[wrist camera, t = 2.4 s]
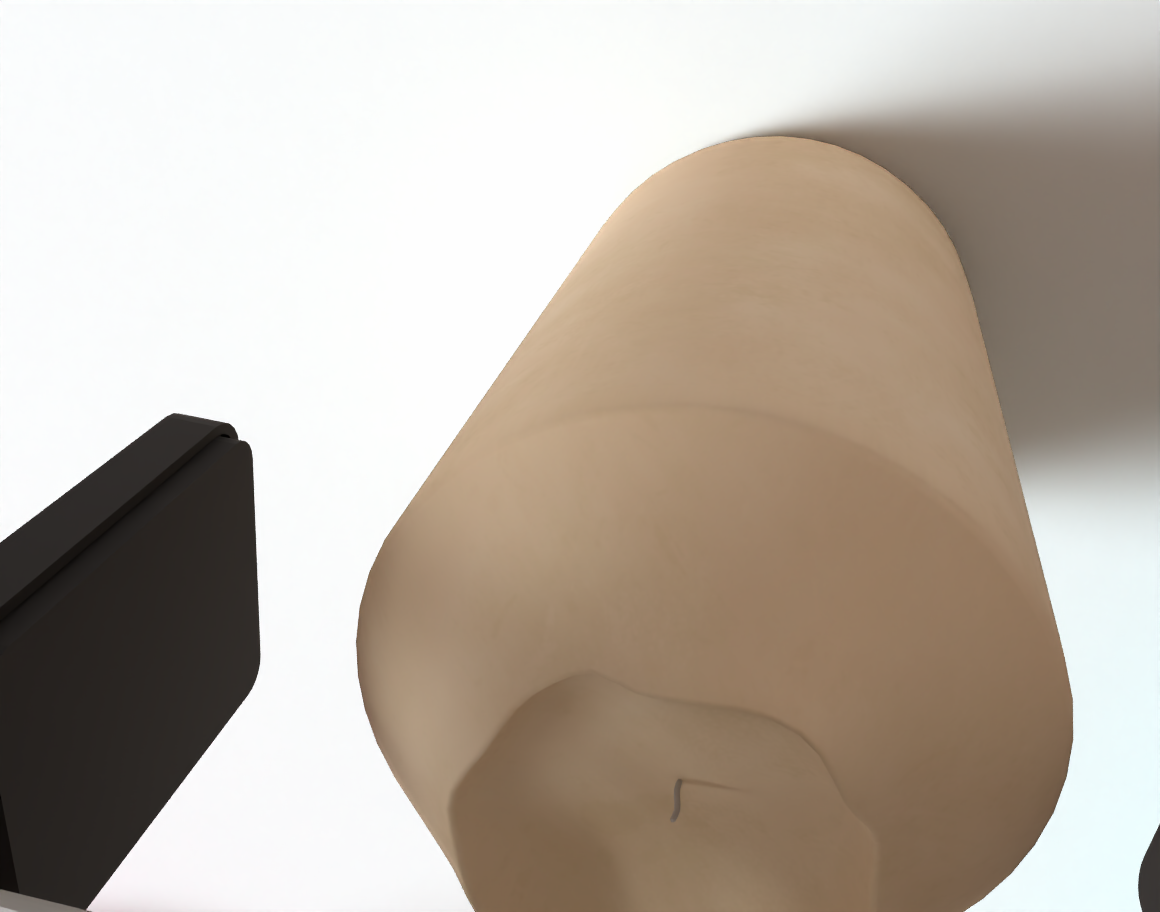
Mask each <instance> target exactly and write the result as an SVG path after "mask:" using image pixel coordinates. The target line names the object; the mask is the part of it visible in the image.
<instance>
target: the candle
mask: <svg viewBox="0 0 1160 912" xmlns="http://www.w3.org/2000/svg"><path fill="white" fill-rule="evenodd" d="M356 647H357V665H358V678H359V683H360V688H361V692H362V697H363V702H364V707H365V711H366V714H367V717H368V719H369V722H370V725H371V728H372V730H373V733H374V736H375V739H376V742H377V744H378V746H379V748H380V750H381V752H382V754H383V756H384V758H385V759H386V761H387V763H388V765H389V767H390V769H391V771H392V773H393V775H394V777H395V778H396V780H397V782H398V783H399V785H400V786H401V788H402V789H403V791H404V793H405V794H406V796H407V797H408V799H409V800H410V802H411V803H412V805H413V806H414V808H415V809H416V811H417V812H418V814H419V816H420V817H421V819H422V820H423V822H424V823H425V825H426V826H427V828H428V829H429V831H430V832H431V834H432V836H433V837H434V839H435V840H436V842H437V843H438V845H439V846H440V848H441V849H442V851H443V853H444V854H445V856H446V858H447V859H448V861H449V863H450V864H451V866H452V868H453V869H454V871H455V873H456V875H457V877H458V879H459V881H460V884H461V886H462V888H463V890H464V892H465V894H466V896H467V898H468V900H469V902H470V904H471V905H472V907H473V909H474V911H475V912H964V911H965V910H967V909H968V908H970V907H971V906H973V905H974V904H976V903H977V902H979V901H980V900H982V899H983V898H984V897H985V896H986V895H988V894H989V893H990V892H991V891H992V890H993V889H994V888H995V887H997V886H998V885H999V884H1000V883H1001V882H1002V881H1003V880H1004V879H1006V878H1007V877H1008V876H1009V875H1010V874H1011V873H1012V872H1013V871H1014V869H1015V868H1016V867H1017V866H1018V865H1019V863H1020V862H1021V861H1022V860H1023V858H1024V857H1025V856H1026V855H1027V854H1028V852H1029V851H1030V850H1031V849H1032V848H1033V846H1034V845H1035V844H1036V842H1037V840H1038V838H1039V837H1040V835H1041V833H1042V832H1043V830H1044V828H1045V826H1046V825H1047V823H1048V821H1049V819H1050V818H1051V816H1052V814H1053V813H1054V810H1055V807H1056V805H1057V802H1058V799H1059V796H1060V794H1061V791H1062V788H1063V785H1064V783H1065V780H1066V777H1067V772H1068V766H1069V760H1070V754H1071V748H1072V743H1073V698H1072V693H1071V688H1070V683H1069V678H1068V673H1067V667H1066V662H1065V657H1064V653H1063V649H1062V645H1061V641H1060V637H1059V633H1058V629H1057V625H1056V621H1055V617H1054V613H1053V609H1052V605H1051V601H1050V597H1049V593H1048V589H1047V585H1046V581H1045V578H1044V574H1043V570H1042V566H1041V562H1040V558H1039V554H1038V550H1037V546H1036V542H1035V539H1034V535H1033V531H1032V527H1031V523H1030V519H1029V515H1028V511H1027V507H1026V503H1025V499H1024V496H1023V492H1022V488H1021V484H1020V480H1019V476H1018V472H1017V468H1016V464H1015V460H1014V457H1013V453H1012V449H1011V445H1010V441H1009V437H1008V433H1007V429H1006V425H1005V421H1004V418H1003V414H1002V410H1001V406H1000V402H999V398H998V394H997V390H996V386H995V382H994V379H993V375H992V371H991V367H990V363H989V359H988V355H987V351H986V347H985V343H984V340H983V336H982V332H981V328H980V324H979V320H978V316H977V312H976V308H975V304H974V301H973V297H972V293H971V290H970V287H969V284H968V281H967V278H966V275H965V272H964V270H963V267H962V264H961V261H960V259H959V256H958V253H957V251H956V249H955V247H954V245H953V243H952V241H951V239H950V238H949V236H948V234H947V232H946V230H945V228H944V227H943V226H942V224H941V223H940V221H939V220H938V219H937V217H936V216H935V215H934V213H933V212H932V211H931V209H930V208H929V207H928V206H927V205H926V204H925V203H924V202H923V201H922V200H921V199H920V198H919V197H918V196H917V195H916V194H915V193H914V192H913V191H912V190H911V189H910V188H909V187H908V186H907V185H906V184H905V183H903V182H902V181H901V180H899V179H898V178H897V177H895V176H894V175H893V174H891V173H890V172H889V171H887V170H886V169H885V168H883V167H881V166H879V165H878V164H876V163H874V162H872V161H870V160H869V159H867V158H865V157H863V156H861V155H859V154H857V153H854V152H851V151H849V150H846V149H844V148H841V147H839V146H836V145H832V144H828V143H824V142H820V141H816V140H812V139H805V138H795V137H786V136H768V137H751V138H745V139H739V140H733V141H728V142H724V143H721V144H717V145H714V146H711V147H707V148H704V149H701V150H699V151H697V152H694V153H692V154H690V155H688V156H686V157H683V158H681V159H679V160H677V161H675V162H673V163H671V164H670V165H668V166H666V167H665V168H663V169H662V170H660V171H658V172H657V173H655V174H654V175H652V176H651V177H650V178H648V179H647V180H646V181H645V182H644V183H642V184H641V185H640V186H639V187H637V188H636V189H635V190H634V191H633V192H632V193H631V194H630V195H629V196H628V197H627V198H626V199H625V200H624V201H623V202H622V203H621V205H620V206H619V207H618V208H617V209H616V210H615V211H614V212H613V214H612V215H611V216H610V217H609V219H608V220H607V221H606V223H605V224H604V225H603V226H602V228H601V229H600V231H599V232H598V233H597V235H596V236H595V238H594V239H593V241H592V242H591V244H590V245H589V246H588V248H587V249H586V251H585V252H584V254H583V255H582V256H581V258H580V259H579V261H578V262H577V264H576V265H575V267H574V268H573V269H572V271H571V272H570V274H569V275H568V277H567V278H566V279H565V281H564V282H563V284H562V285H561V287H560V288H559V290H558V291H557V292H556V294H555V295H554V297H553V298H552V300H551V301H550V302H549V304H548V305H547V307H546V308H545V310H544V311H543V312H542V314H541V315H540V317H539V318H538V320H537V321H536V323H535V324H534V325H533V327H532V328H531V330H530V331H529V333H528V334H527V335H526V337H525V338H524V340H523V341H522V343H521V344H520V346H519V347H518V348H517V350H516V351H515V353H514V354H513V356H512V357H511V358H510V360H509V361H508V363H507V364H506V366H505V367H504V369H503V370H502V371H501V373H500V374H499V376H498V377H497V379H496V380H495V381H494V383H493V384H492V386H491V387H490V389H489V390H488V392H487V393H486V394H485V396H484V397H483V399H482V400H481V402H480V403H479V404H478V406H477V407H476V409H475V410H474V412H473V413H472V415H471V416H470V417H469V419H468V420H467V422H466V423H465V425H464V426H463V427H462V429H461V430H460V432H459V433H458V435H457V436H456V438H455V439H454V440H453V442H452V443H451V445H450V446H449V448H448V449H447V450H446V452H445V453H444V455H443V456H442V458H441V459H440V461H439V462H438V463H437V465H436V466H435V468H434V469H433V471H432V472H431V473H430V475H429V476H428V478H427V479H426V481H425V482H424V484H423V485H422V486H421V488H420V489H419V491H418V492H417V494H416V495H415V497H414V498H413V499H412V501H411V502H410V504H409V505H408V507H407V508H406V510H405V511H404V512H403V514H402V515H401V517H400V518H399V520H398V521H397V523H396V524H395V525H394V527H393V528H392V530H391V531H390V533H389V534H388V536H387V537H386V539H385V540H384V543H383V545H382V547H381V549H380V551H379V553H378V555H377V557H376V560H375V562H374V564H373V566H372V568H371V570H370V572H369V576H368V579H367V583H366V586H365V590H364V594H363V597H362V601H361V604H360V610H359V619H358V629H357V638H356Z"/></svg>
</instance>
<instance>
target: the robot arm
mask: <svg viewBox="0 0 1160 912" xmlns="http://www.w3.org/2000/svg"><path fill="white" fill-rule="evenodd" d="M259 666H260V632H259V606H258V581H257V556H256V531H255V505H254V480H253V457H252V450H251V448H250V446H249V444H248V443H247V442H246V441H241V440H238V435H237V433H236V431H235V428H234V427H233V426H232V425H230V424H229V423H224V422H219V421H214V420H209V419H204V418H199V417H194V416H189V415H183V414H176V413H173V414H171V415H169V416H167V417H165V418H164V419H163V420H161V421H160V422H159V423H157V424H156V425H155V426H153V427H152V428H151V429H150V430H148V431H147V432H146V433H144V434H143V435H142V436H140V437H139V438H138V439H136V440H135V441H134V442H132V443H131V444H130V445H128V446H127V447H126V448H124V449H123V450H122V451H121V452H119V453H118V454H117V455H115V456H114V457H113V458H111V459H110V460H109V461H107V462H106V463H105V464H103V465H102V466H101V467H99V468H98V469H97V470H95V471H94V472H93V473H91V474H90V475H89V476H88V477H86V478H85V479H84V480H82V481H81V482H80V483H78V484H77V485H76V486H74V487H73V488H72V489H70V490H69V491H68V492H66V493H65V494H64V495H62V496H61V497H60V498H59V499H57V500H56V501H55V502H53V503H52V504H51V505H49V506H48V507H47V508H45V509H44V510H43V511H41V512H40V513H39V514H37V515H36V516H35V517H33V518H32V519H31V520H30V521H28V522H27V523H26V524H24V525H23V526H22V527H20V528H19V529H18V530H16V531H15V532H14V533H12V534H11V535H10V536H8V537H7V538H6V539H4V540H3V541H2V542H1V543H0V912H91V911H87V910H86V909H87V908H88V906H89V905H90V904H91V902H92V901H93V900H94V898H95V897H96V896H97V894H98V893H99V892H100V890H101V889H102V888H103V886H104V885H105V884H106V883H107V881H108V880H109V879H110V877H111V876H112V875H113V873H114V872H115V871H116V869H117V868H118V867H119V865H120V864H121V863H122V861H123V860H124V859H125V857H126V856H127V855H128V853H129V852H130V851H131V849H132V848H133V847H134V845H135V844H136V843H137V841H138V840H139V839H140V837H141V836H142V835H143V833H144V832H145V831H146V830H147V828H148V827H149V826H150V824H151V823H152V822H153V820H154V819H155V818H156V816H157V815H158V814H159V812H160V811H161V810H162V808H163V807H164V806H165V804H166V803H167V802H168V800H169V799H170V798H171V796H172V795H173V794H174V792H175V791H176V790H177V788H178V787H179V786H180V784H181V783H182V782H183V780H184V779H185V778H186V776H187V775H188V774H189V773H190V771H191V770H192V769H193V767H194V766H195V765H196V763H197V762H198V761H199V759H200V758H201V757H202V755H203V754H204V753H205V751H206V750H207V749H208V747H209V746H210V745H211V743H212V742H213V741H214V739H215V738H216V737H217V735H218V734H219V733H220V731H221V730H222V729H223V727H224V726H225V725H226V723H227V722H228V721H229V719H230V718H231V717H232V716H233V714H234V713H235V712H236V710H237V709H238V708H239V706H240V705H241V704H242V702H243V701H244V700H245V698H246V697H247V696H248V694H249V693H250V691H251V689H252V687H253V685H254V683H255V681H256V678H257V674H258V671H259ZM1138 892H1139V900H1140V905H1141V908H1142V912H1160V825H1159V827H1158V829H1157V831H1156V833H1155V835H1154V837H1153V839H1152V841H1151V843H1150V846H1149V848H1148V850H1147V852H1146V854H1145V856H1144V858H1143V861H1142V864H1141V868H1140V873H1139V882H1138Z"/></svg>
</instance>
